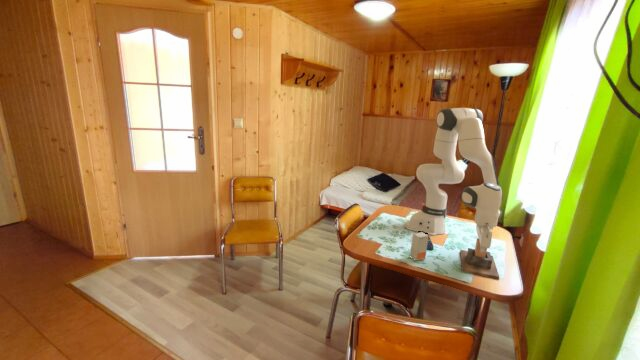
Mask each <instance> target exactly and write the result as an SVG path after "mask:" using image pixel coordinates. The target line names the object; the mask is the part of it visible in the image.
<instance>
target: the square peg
mask: <svg viewBox="0 0 640 360" xmlns="http://www.w3.org/2000/svg"><path fill="white" fill-rule="evenodd" d="M474 249H475V252H474V256H477V257H482V258H485V257H486V251H487V250H488V248H485V250H484V252H480V250H479V249H480V242H479V238H476V241H475V248H474ZM487 252H488V251H487Z"/></svg>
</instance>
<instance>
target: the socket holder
mask: <svg viewBox="0 0 640 360" xmlns="http://www.w3.org/2000/svg"><path fill="white" fill-rule="evenodd" d="M474 252H475V248H471V247H469V248H467V250H463V249H460V252H459V253H460V262H461V263H460V264H461V272H462V271H463V272H464V273H467V272H468V273H467V274H471V273H472V275H476V276H481V277H486V278H491V279H496V280H500V274H499V271H498V268H497V265H496V263H495V259H494V256H493V255H491V252H490V251H486V257H485V258H482V257H477V256H474Z"/></svg>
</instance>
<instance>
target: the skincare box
mask: <svg viewBox="0 0 640 360" xmlns="http://www.w3.org/2000/svg"><path fill="white" fill-rule="evenodd" d="M429 237H430V235H429V234H425V233H423V232H416V233H412V239H411V247H410V251H409V252H410V253H409V257H410V256H411V257H412V258H413V260H414V259H415V260H417V261H421V260H425V259H426V257H427V250H428V242H429ZM411 257H410V258H411ZM412 258H411V259H412ZM420 259H421V260H420ZM415 260H414V261H415Z"/></svg>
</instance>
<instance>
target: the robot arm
mask: <svg viewBox="0 0 640 360" xmlns="http://www.w3.org/2000/svg"><path fill="white" fill-rule="evenodd" d="M435 118H436V120H435V121H436V122H435V123H436V125H437V131H436V133H435V138H434V145H433V155H434V156H435V157H436V158H438V159H440V160H441V163H423V164H420V165H419V166H417V168H416V174H415V175H416V178H417V180H418V181H419V182H420V183H421V184H422V185H423V187H424V188H425V192H426V193H425V194H426V196H425V198H426V199H425V203H421V205H420V207H421V209H420V210H419V211H417V212H414V213H413V214H412V215H411V217H410V220H407V221H406V222H405V228H406V229H407V230H409V231H413V232H416V233H419V232H418V231H425V232H427V233H428V234H427V235H428V236H436V235H442V234H445V233H447V231H446V225H445V224H446V217H447V211H448V210H447V205H448V204H447V202H448V194H447V192H446V191H444V190H443V189H441V188H439V185H440V184H441V185H455V184H460V183H462V182H463V180H464V179H465V175H466V174H465V173H466V172H465V170H464V168H463V167H462V166H461V165H460V164H459V162H458V160H457V157H456V151H457V143H458V151H459V154H460V155H461V156H462V157H463V159H465V160H466V161H469V162H472V163H474V164H475V165H477V166H478V167H479V169H480V171H481V173H482V178H483V183H482V184H480V185H473V186H466V187H464V188H463V190H462V192H461V195H460V196H461V197H460V198H461V202H462V203H463V204H464V205H465V206H466V207H469V208H475V209H476V210H475V215H474V221H473V222H474V223H475V224H476V226H475V227H476V229H475V230H476V234H477V237H478V239H479V242H480V249H479V250H480V252H484V250H485V248H487V249H490V248H491V244H492V236H493V231H492V230H493V229H494V228H496V227H497V225H498V222H499V216H500V213H499V210H500V208H501V206H502V202H503V198H504V193H503V191H502V187H501V186H500V183H499V179H498V174H497V169H496V165H495V161H494V158H493V155H492V154H491V152H490V151H489V150H488V148H487V145H486V137H485V131H484V127H483V121H484V115H483V112H482V110H480V109H478V108H474V107H454V108H449V107H448V108H442V109H441V110H439V112H438V113H437V115H436V117H435Z"/></svg>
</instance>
